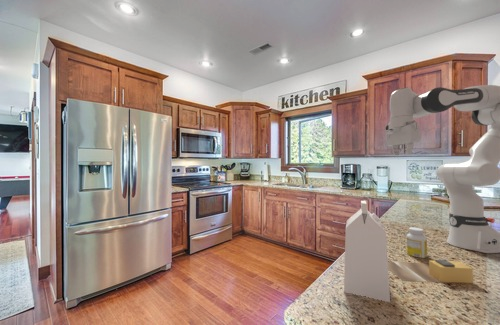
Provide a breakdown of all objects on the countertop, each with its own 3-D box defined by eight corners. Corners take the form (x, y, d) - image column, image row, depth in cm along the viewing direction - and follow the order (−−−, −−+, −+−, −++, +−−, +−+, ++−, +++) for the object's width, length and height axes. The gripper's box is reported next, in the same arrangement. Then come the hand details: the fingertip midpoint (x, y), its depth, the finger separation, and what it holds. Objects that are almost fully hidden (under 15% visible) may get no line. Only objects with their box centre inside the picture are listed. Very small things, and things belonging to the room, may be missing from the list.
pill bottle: (423, 255, 89) (422, 227, 90) (430, 262, 83) (429, 231, 84) (404, 253, 92) (404, 226, 92) (410, 259, 85) (409, 230, 86)
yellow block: (458, 274, 71) (458, 259, 71) (473, 283, 66) (472, 266, 66) (429, 273, 72) (428, 258, 72) (441, 281, 67) (440, 265, 67)
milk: (345, 273, 74) (344, 198, 75) (384, 281, 69) (382, 200, 70) (344, 292, 64) (342, 203, 64) (390, 302, 59) (388, 206, 59)
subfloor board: (437, 266, 79) (437, 263, 79) (472, 287, 65) (472, 283, 65) (380, 264, 81) (380, 261, 81) (402, 284, 67) (402, 280, 67)
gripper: (424, 118, 87) (425, 152, 87) (396, 128, 108) (396, 155, 107) (408, 119, 88) (408, 153, 88) (382, 128, 108) (383, 155, 108)
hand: (402, 154), depth 98 cm, fingers open, 8 cm apart
